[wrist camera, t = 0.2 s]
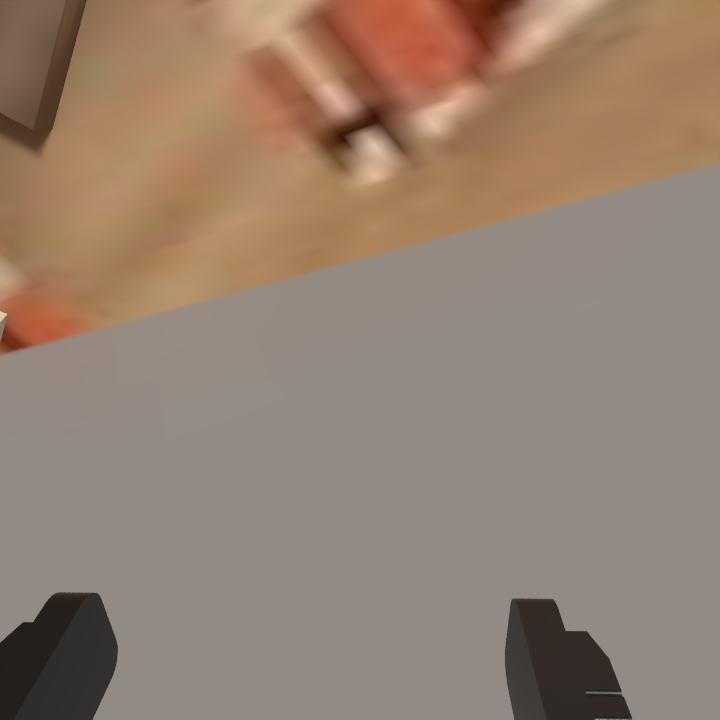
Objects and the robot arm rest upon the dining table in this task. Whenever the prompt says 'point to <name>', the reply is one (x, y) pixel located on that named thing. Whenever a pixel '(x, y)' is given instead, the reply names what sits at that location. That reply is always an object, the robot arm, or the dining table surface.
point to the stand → (35, 57)
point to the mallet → (2, 322)
